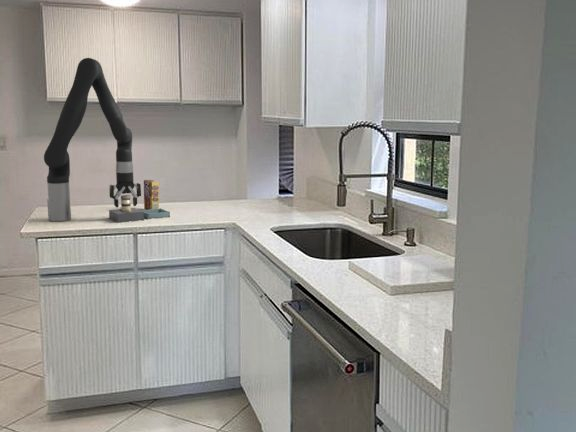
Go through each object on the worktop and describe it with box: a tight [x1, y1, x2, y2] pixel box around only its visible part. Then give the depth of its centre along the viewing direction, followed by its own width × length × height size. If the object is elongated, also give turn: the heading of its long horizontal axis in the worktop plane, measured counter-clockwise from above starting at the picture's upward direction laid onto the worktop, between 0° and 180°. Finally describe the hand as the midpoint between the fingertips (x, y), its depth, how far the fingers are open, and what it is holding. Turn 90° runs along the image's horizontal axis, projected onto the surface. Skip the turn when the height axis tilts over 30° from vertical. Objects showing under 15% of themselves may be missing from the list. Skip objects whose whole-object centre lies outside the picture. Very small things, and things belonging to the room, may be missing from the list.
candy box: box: [143, 179, 160, 210], centre depth 296 cm, size 9×4×15 cm, turn 39°
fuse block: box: [108, 206, 145, 224], centre depth 273 cm, size 12×12×5 cm
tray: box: [140, 207, 171, 220], centre depth 282 cm, size 11×11×2 cm
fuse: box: [120, 194, 132, 212], centre depth 272 cm, size 4×4×11 cm
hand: (125, 206), depth 272 cm, fingers open, 8 cm apart
